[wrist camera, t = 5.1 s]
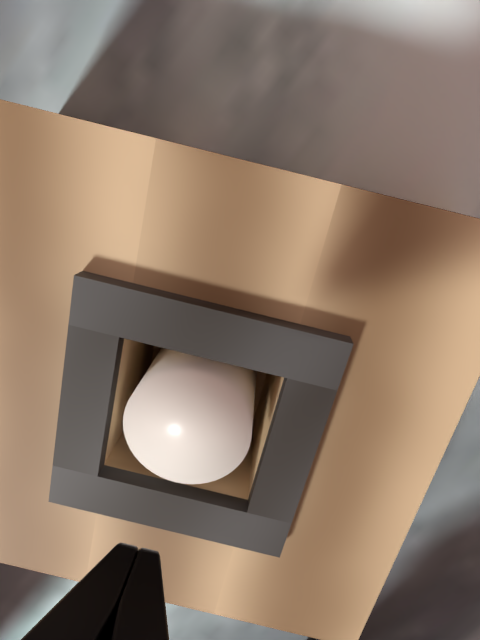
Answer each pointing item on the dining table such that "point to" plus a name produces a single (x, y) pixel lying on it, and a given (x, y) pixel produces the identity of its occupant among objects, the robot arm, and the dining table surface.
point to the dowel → (191, 417)
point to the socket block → (228, 347)
